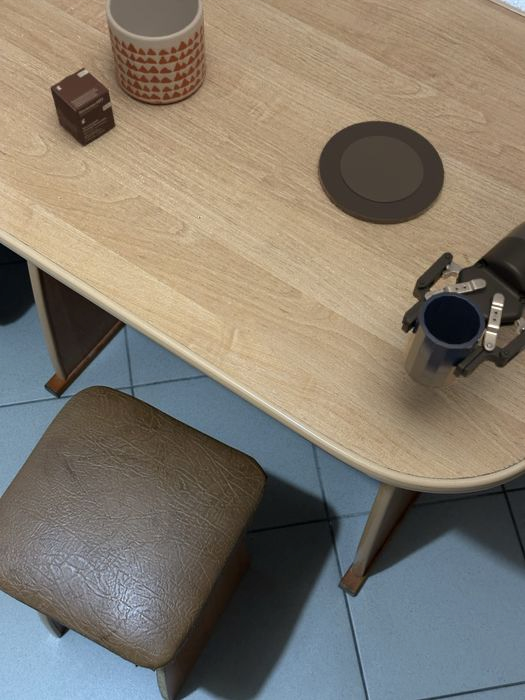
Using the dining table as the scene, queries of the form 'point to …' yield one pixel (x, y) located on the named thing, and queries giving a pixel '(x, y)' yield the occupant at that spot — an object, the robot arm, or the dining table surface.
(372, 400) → the dining table surface
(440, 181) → the plate
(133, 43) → the planter
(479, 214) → the dining table surface
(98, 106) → the box
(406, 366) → the cup
